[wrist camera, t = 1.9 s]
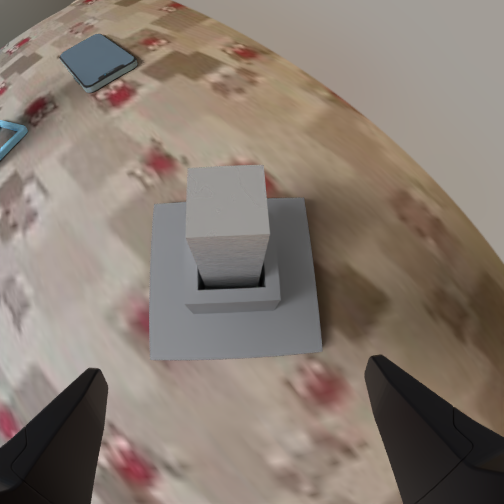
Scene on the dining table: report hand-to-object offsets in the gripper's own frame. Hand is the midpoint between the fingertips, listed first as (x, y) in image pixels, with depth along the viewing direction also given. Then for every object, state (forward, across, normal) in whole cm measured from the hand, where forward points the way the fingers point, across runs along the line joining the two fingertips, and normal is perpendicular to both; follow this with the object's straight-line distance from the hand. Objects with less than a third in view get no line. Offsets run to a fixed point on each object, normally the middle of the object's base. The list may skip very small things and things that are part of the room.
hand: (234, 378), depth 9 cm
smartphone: (+36, +18, -17) cm, 44 cm away
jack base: (+14, 0, +4) cm, 15 cm away
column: (+13, 0, +3) cm, 13 cm away
